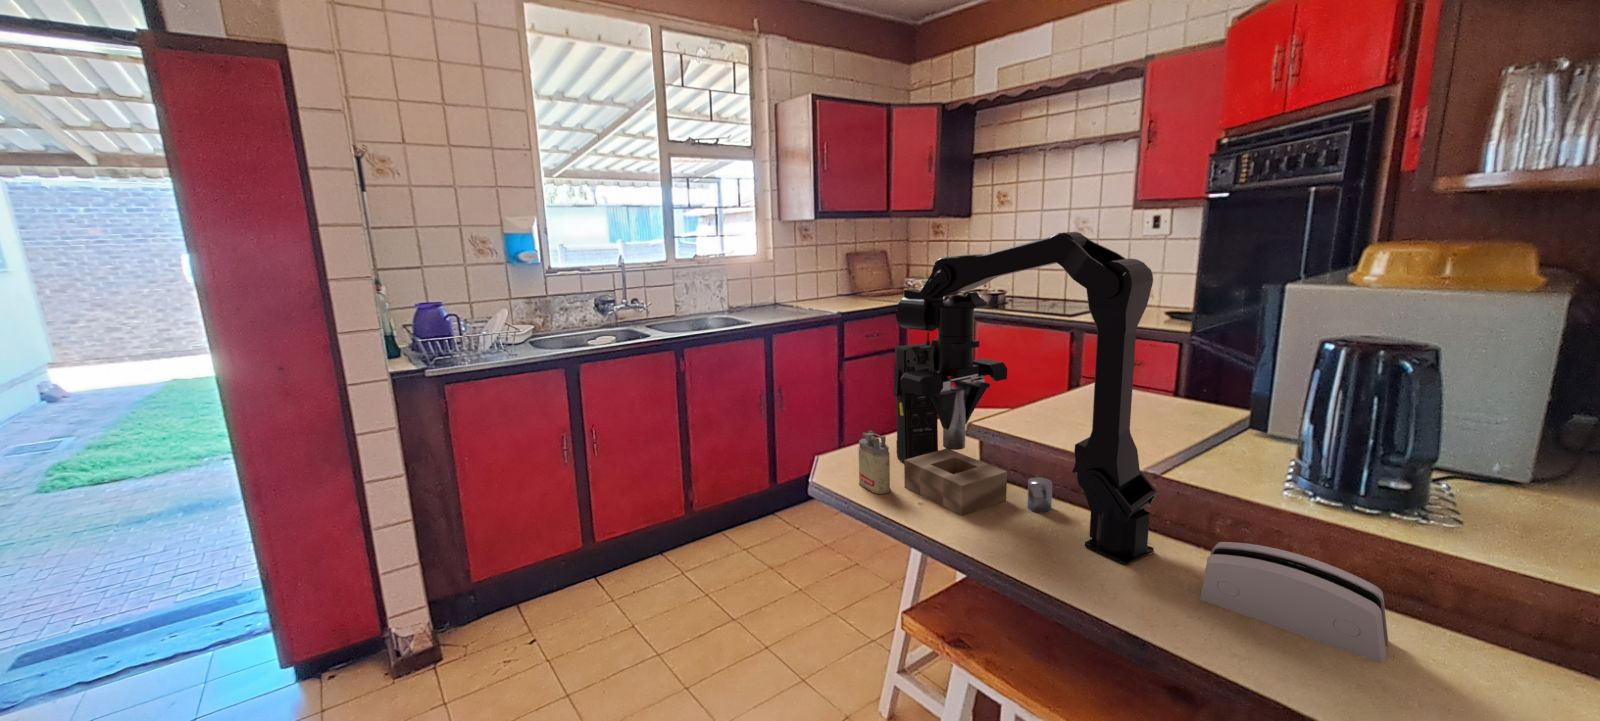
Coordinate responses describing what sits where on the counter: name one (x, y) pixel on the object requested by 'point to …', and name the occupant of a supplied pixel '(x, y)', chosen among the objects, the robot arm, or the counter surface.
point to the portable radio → (913, 412)
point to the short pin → (1039, 495)
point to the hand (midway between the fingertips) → (954, 426)
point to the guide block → (955, 480)
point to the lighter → (874, 463)
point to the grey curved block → (1298, 596)
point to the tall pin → (956, 422)
